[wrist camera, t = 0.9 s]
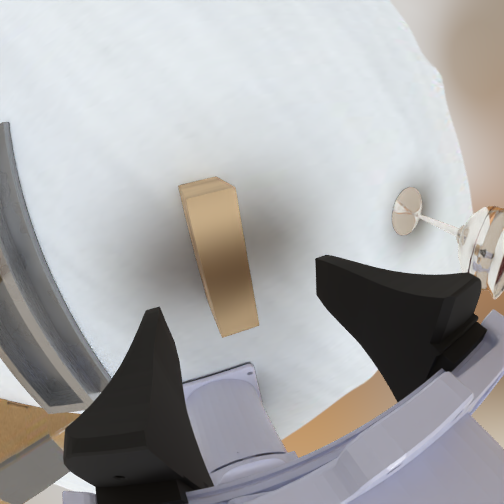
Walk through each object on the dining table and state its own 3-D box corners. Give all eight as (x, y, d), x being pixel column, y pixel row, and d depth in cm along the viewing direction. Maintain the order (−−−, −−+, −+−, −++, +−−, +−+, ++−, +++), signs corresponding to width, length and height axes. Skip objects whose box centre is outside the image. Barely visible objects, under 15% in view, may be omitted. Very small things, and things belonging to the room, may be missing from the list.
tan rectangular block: (237, 289, 20) (259, 325, 17) (207, 299, 20) (222, 337, 16) (215, 176, 17) (235, 187, 13) (178, 185, 16) (185, 199, 12)
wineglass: (405, 164, 21) (521, 199, 11) (433, 198, 24) (526, 237, 14) (375, 227, 23) (487, 288, 12) (407, 253, 26) (496, 307, 15)
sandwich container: (103, 448, 23) (117, 552, 10) (5, 430, 17) (-3, 521, 4) (87, 412, 20) (94, 545, 7) (-23, 390, 15) (-46, 494, 2)
